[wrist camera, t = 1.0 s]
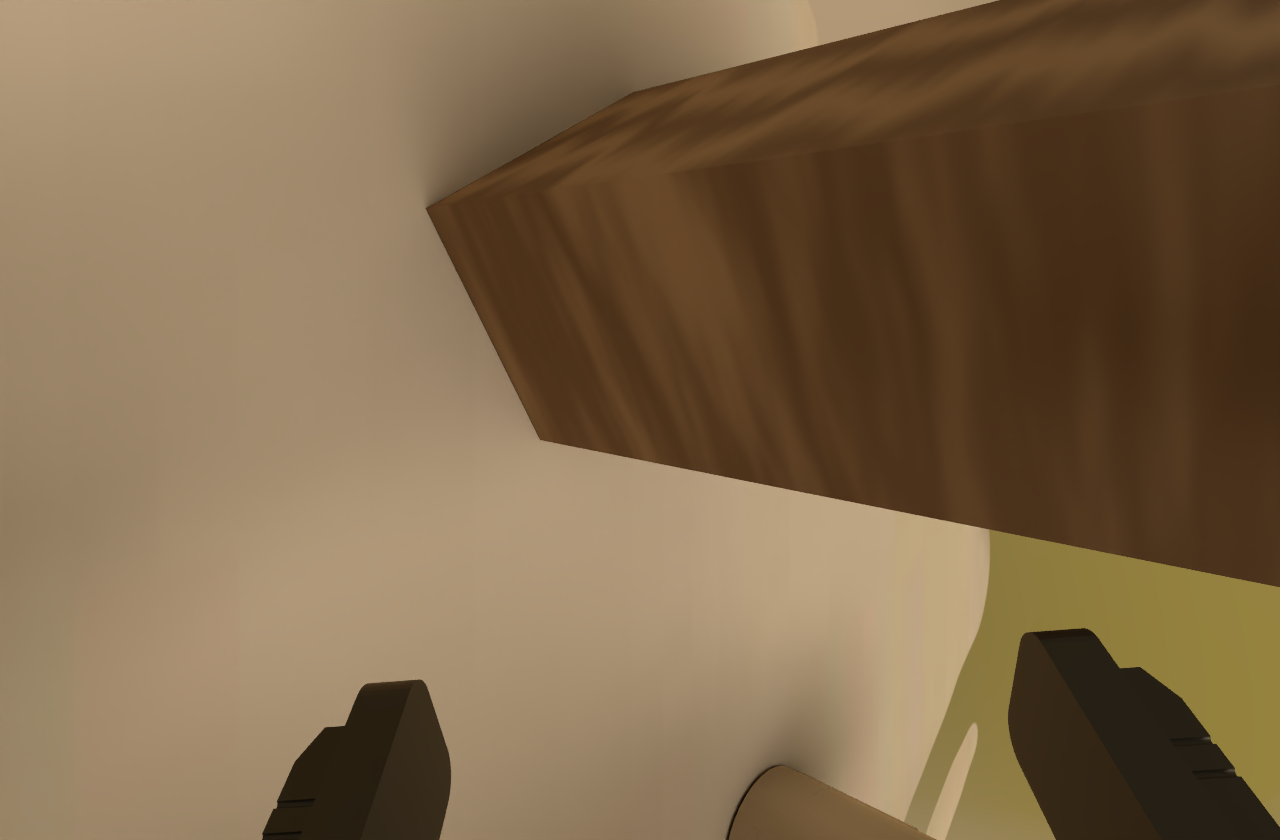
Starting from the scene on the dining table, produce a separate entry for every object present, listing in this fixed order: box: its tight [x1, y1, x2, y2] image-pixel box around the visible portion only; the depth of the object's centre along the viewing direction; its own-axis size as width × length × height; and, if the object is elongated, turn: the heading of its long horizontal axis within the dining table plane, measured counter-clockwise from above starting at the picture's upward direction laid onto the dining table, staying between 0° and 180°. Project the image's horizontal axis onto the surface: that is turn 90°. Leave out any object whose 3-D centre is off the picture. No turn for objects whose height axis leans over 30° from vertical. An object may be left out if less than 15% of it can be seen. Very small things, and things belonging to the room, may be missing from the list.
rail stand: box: [427, 0, 1280, 587], centre depth 28 cm, size 14×12×33 cm
